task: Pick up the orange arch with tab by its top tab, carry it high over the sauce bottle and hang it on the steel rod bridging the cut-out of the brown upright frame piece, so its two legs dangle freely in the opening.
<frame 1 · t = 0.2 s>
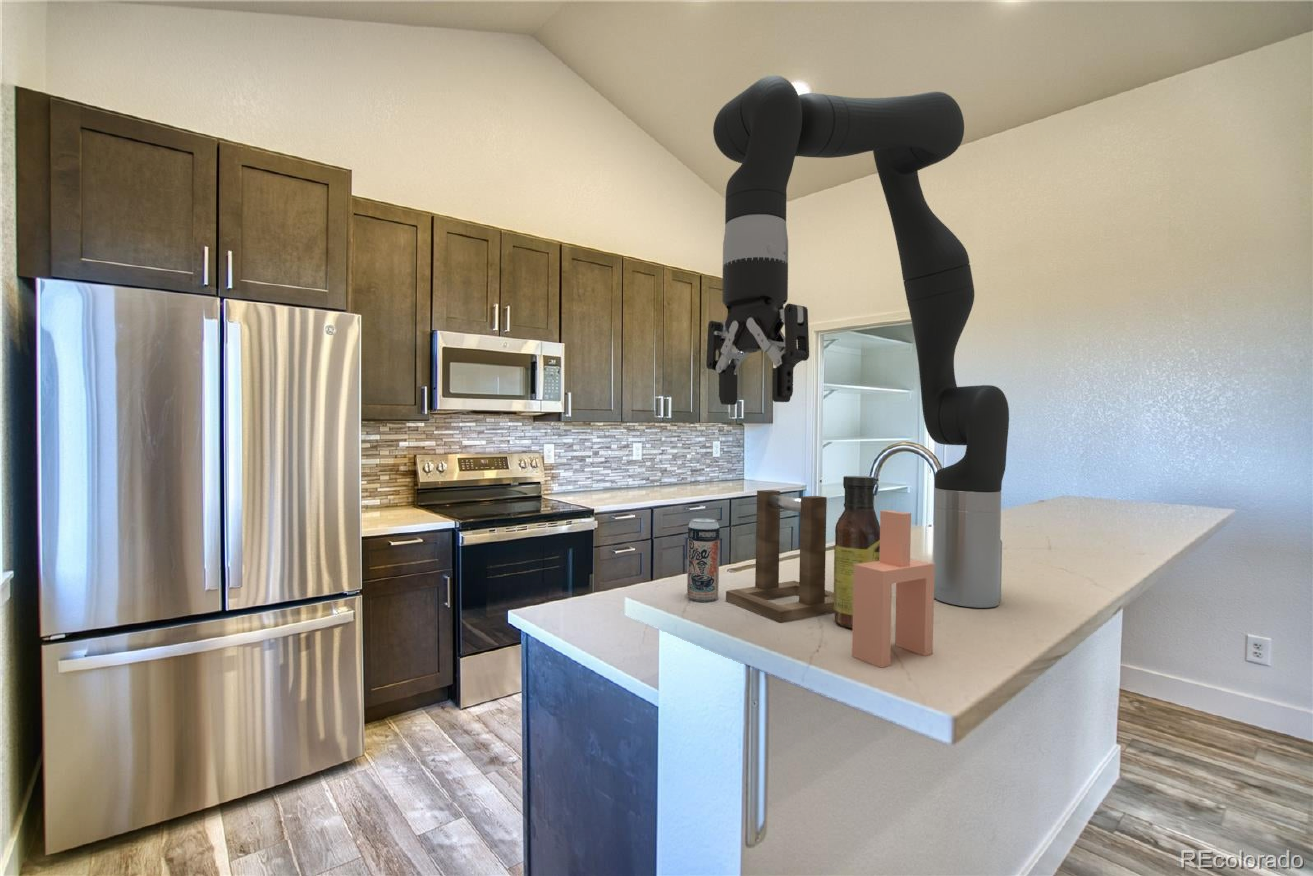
hand: (753, 403, 70), 29 cm above the worktop, tool pointing down, fingers open, 8 cm apart
beer can: (702, 599, 92), on the worktop
sauce bottle: (857, 625, 81), on the worktop
orange arch with tab: (892, 654, 69), on the worktop
brown upright frame piece: (788, 604, 89), on the worktop
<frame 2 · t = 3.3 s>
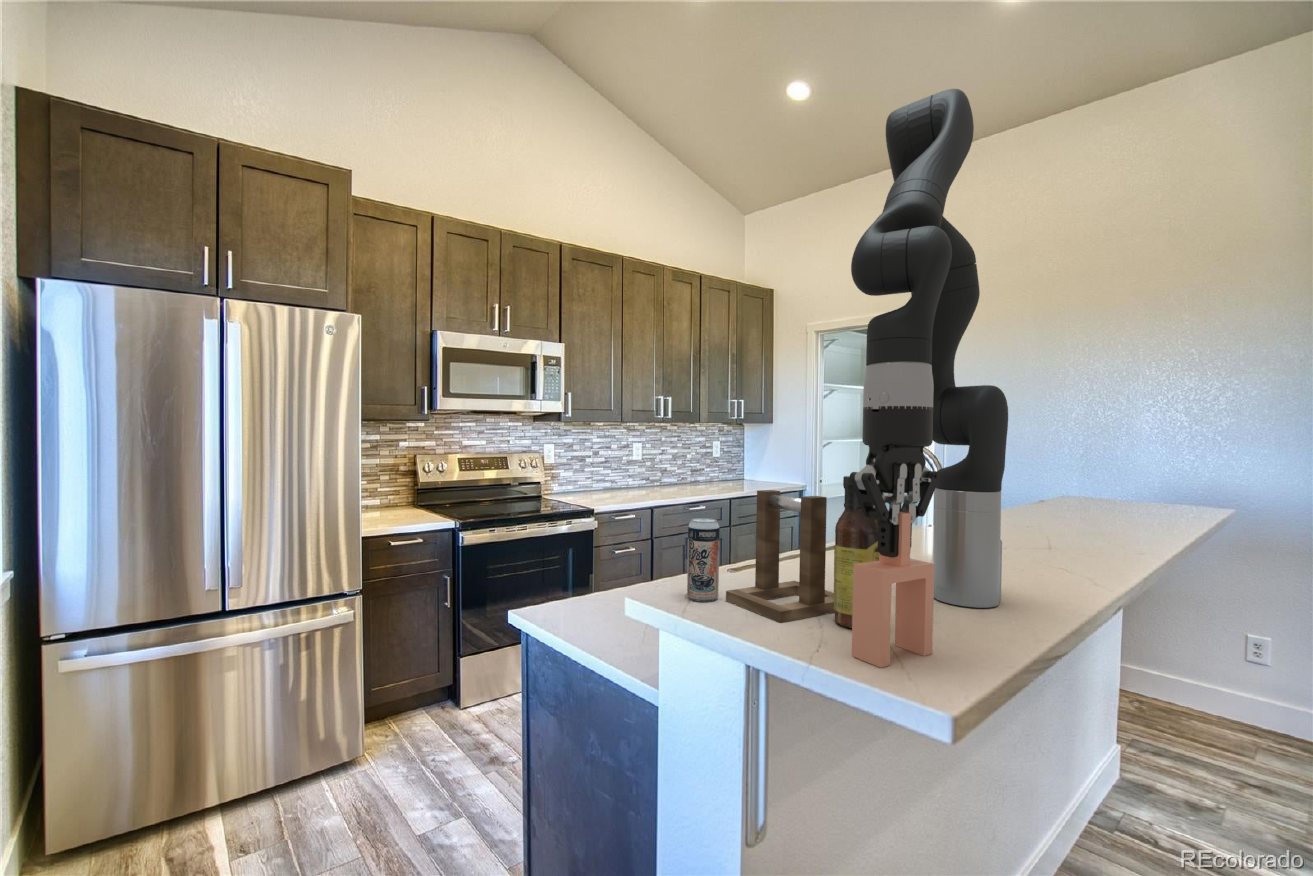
hand: (894, 554, 69), 12 cm above the worktop, tool pointing down, fingers closed on orange arch with tab
orange arch with tab: (892, 654, 69), on the worktop, touching gripper
everything else where it was.
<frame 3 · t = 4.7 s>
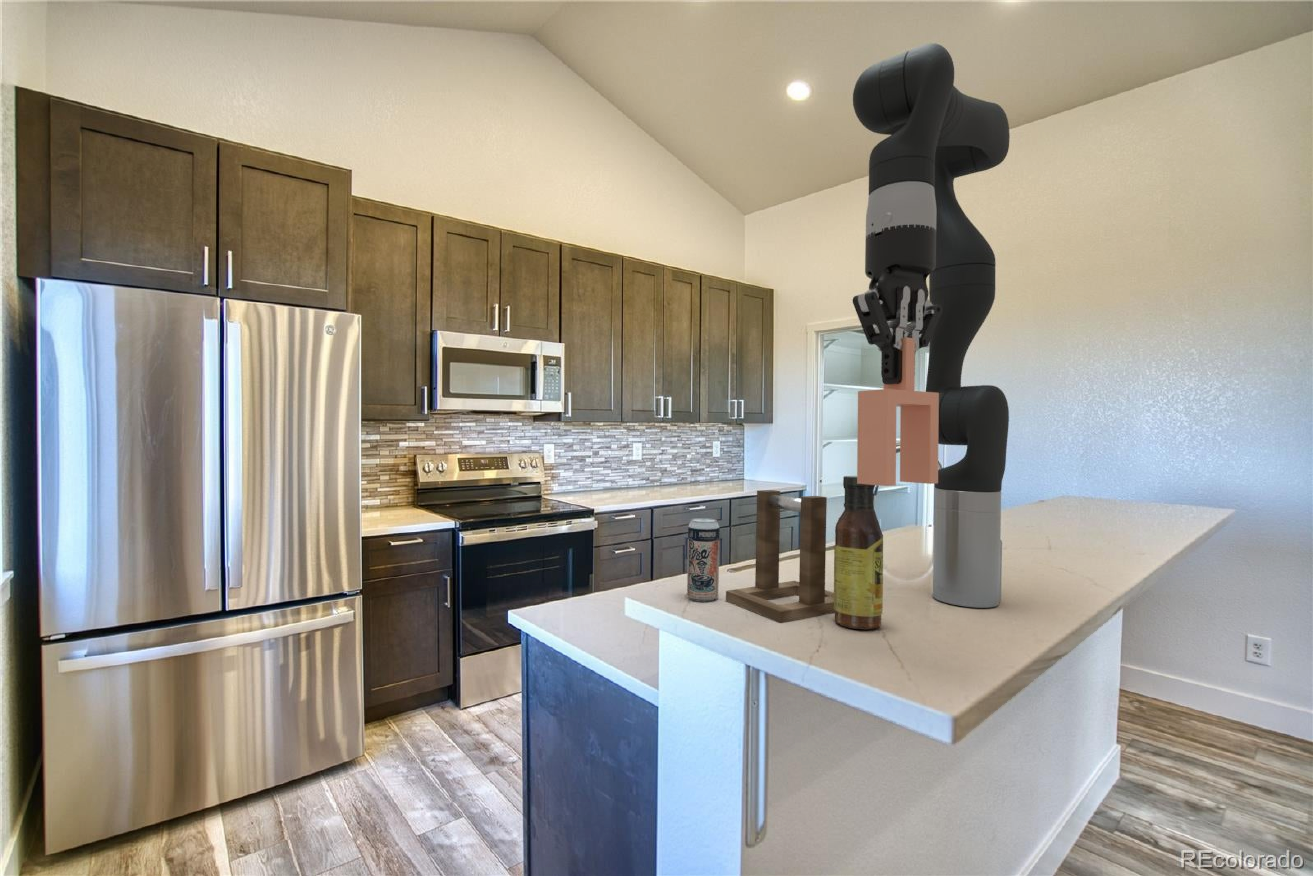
hand: (897, 383, 69), 31 cm above the worktop, tool pointing down, fingers closed on orange arch with tab
orange arch with tab: (897, 483, 69), point 20 cm above the worktop, touching gripper
everything else where it was.
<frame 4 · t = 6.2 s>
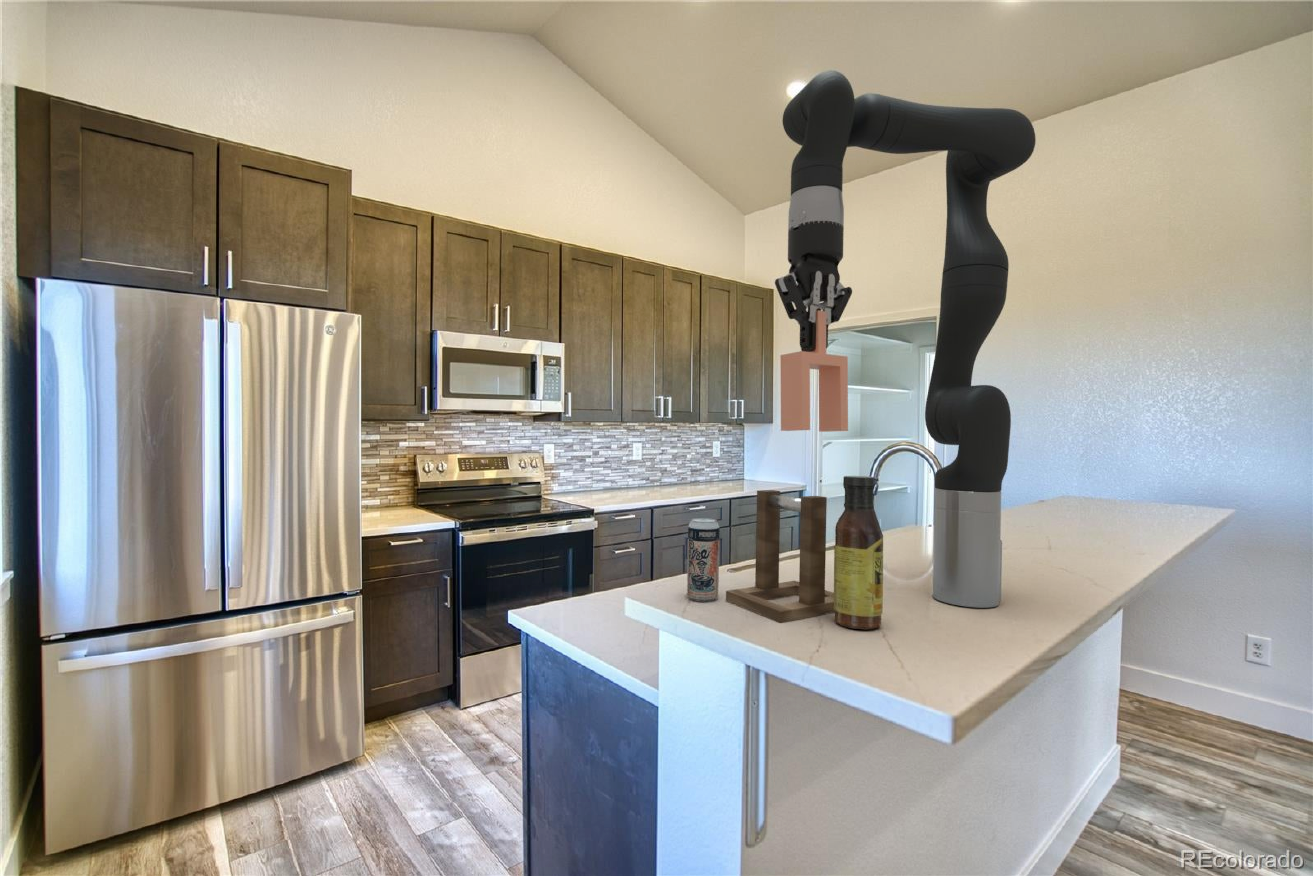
hand: (813, 351, 84), 37 cm above the worktop, tool pointing down, fingers closed on orange arch with tab
orange arch with tab: (814, 430, 84), point 26 cm above the worktop, touching gripper
everything else where it was.
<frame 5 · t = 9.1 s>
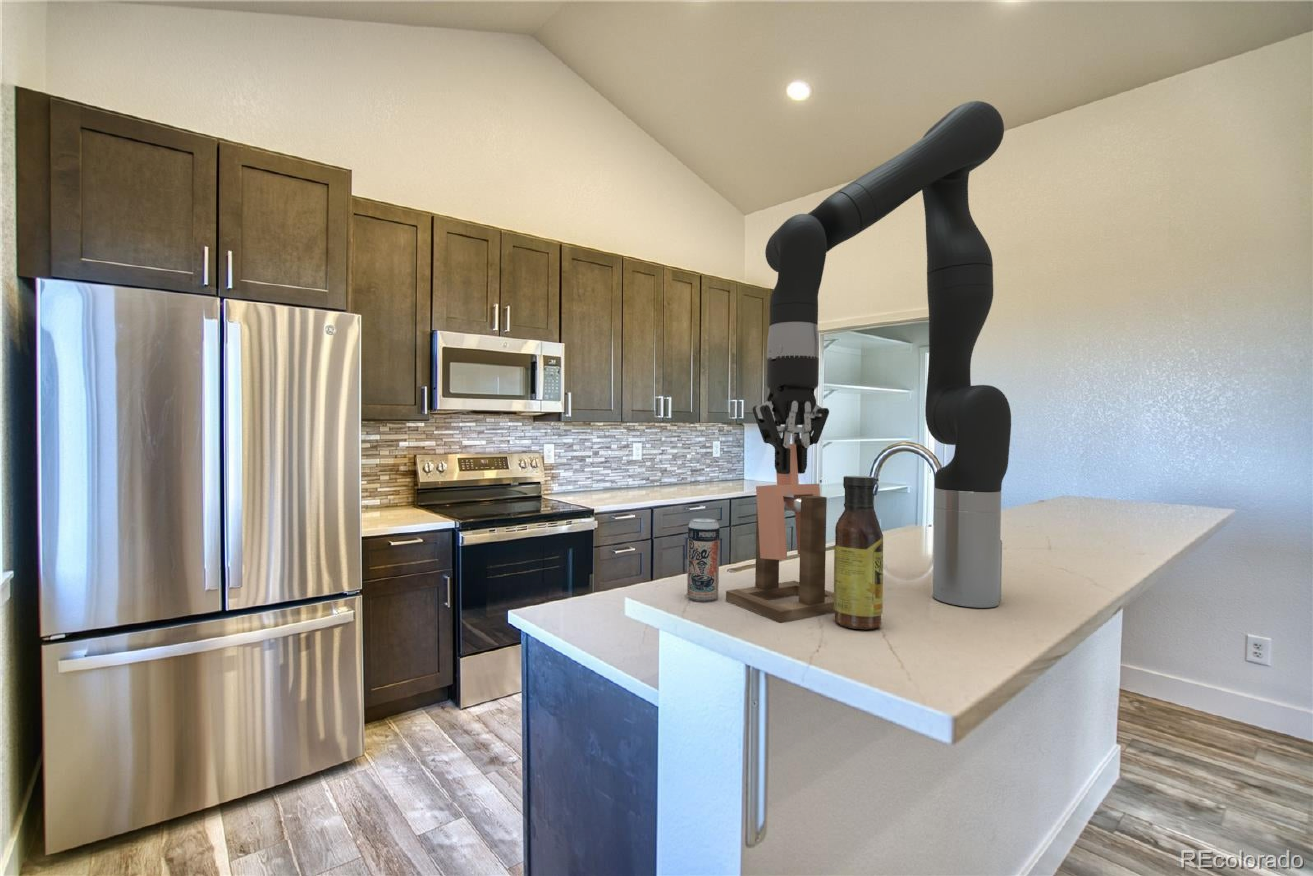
hand: (790, 472, 89), 20 cm above the worktop, tool pointing down, fingers closed
orange arch with tab: (792, 556, 88), point 7 cm above the worktop, tilted 8°, touching brown upright frame piece
everything else where it was.
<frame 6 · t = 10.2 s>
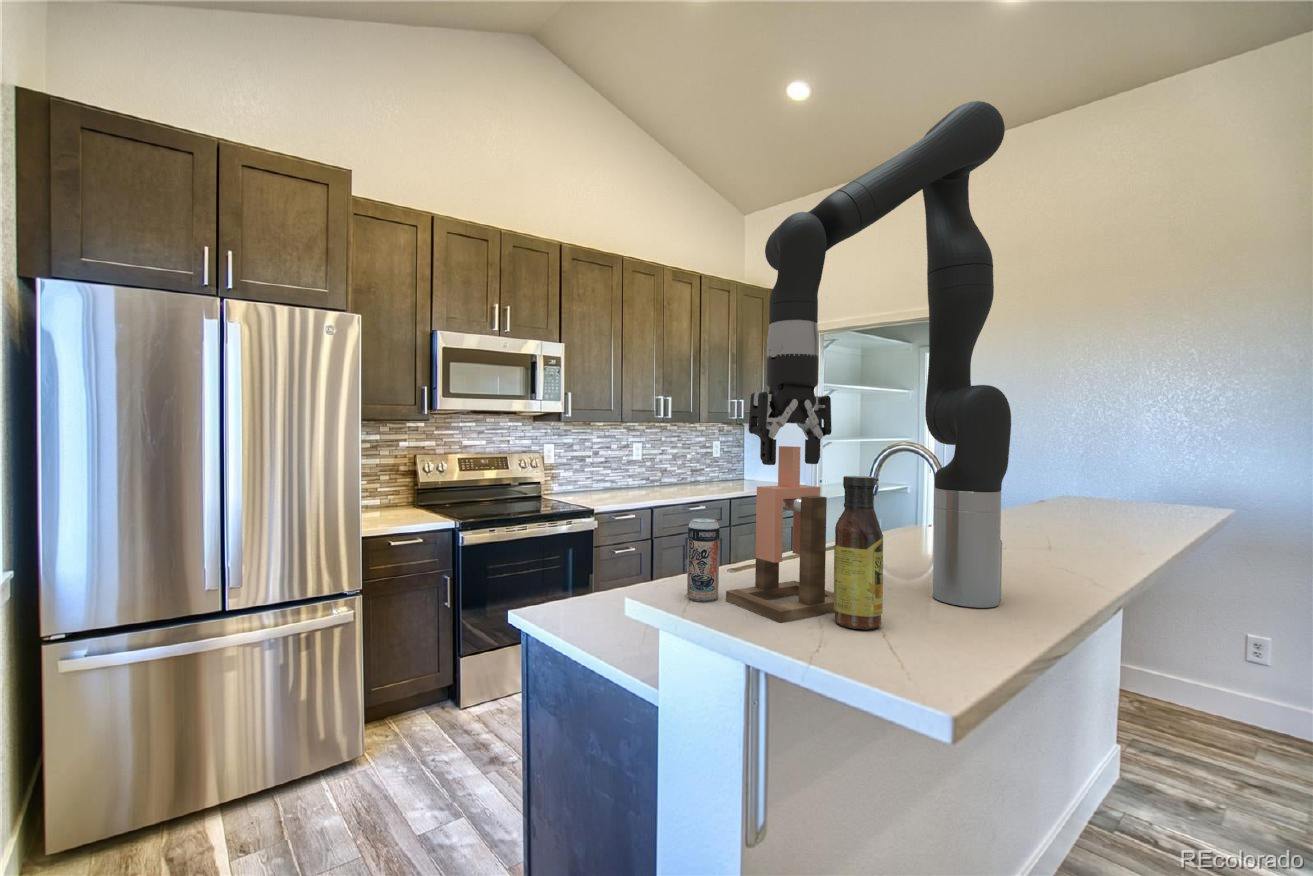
hand: (790, 464, 89), 21 cm above the worktop, tool pointing down, fingers open, 8 cm apart
orange arch with tab: (787, 557, 90), point 7 cm above the worktop, touching brown upright frame piece
everything else where it was.
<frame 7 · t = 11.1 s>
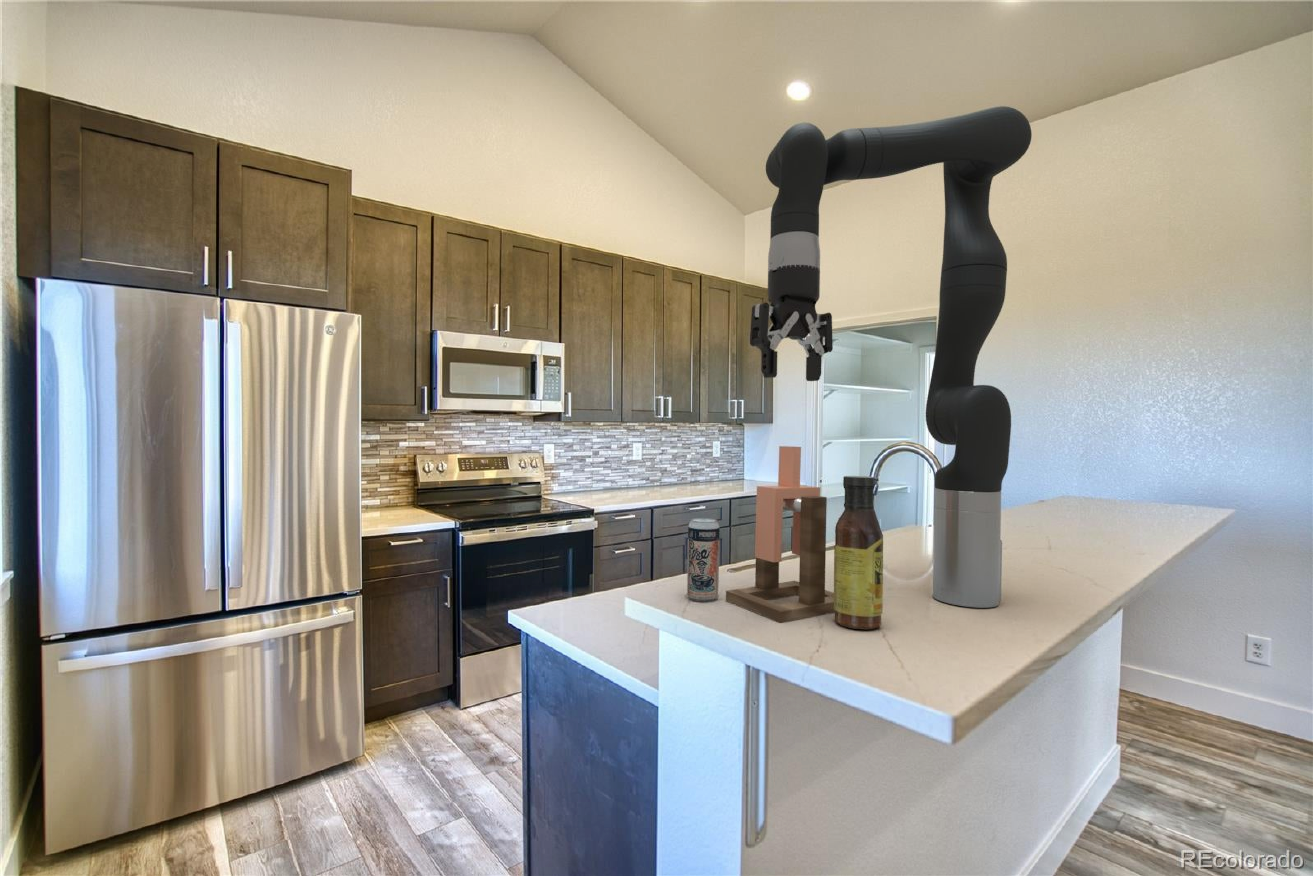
hand: (791, 379, 89), 33 cm above the worktop, tool pointing down, fingers open, 8 cm apart
nothing on the worktop moved.
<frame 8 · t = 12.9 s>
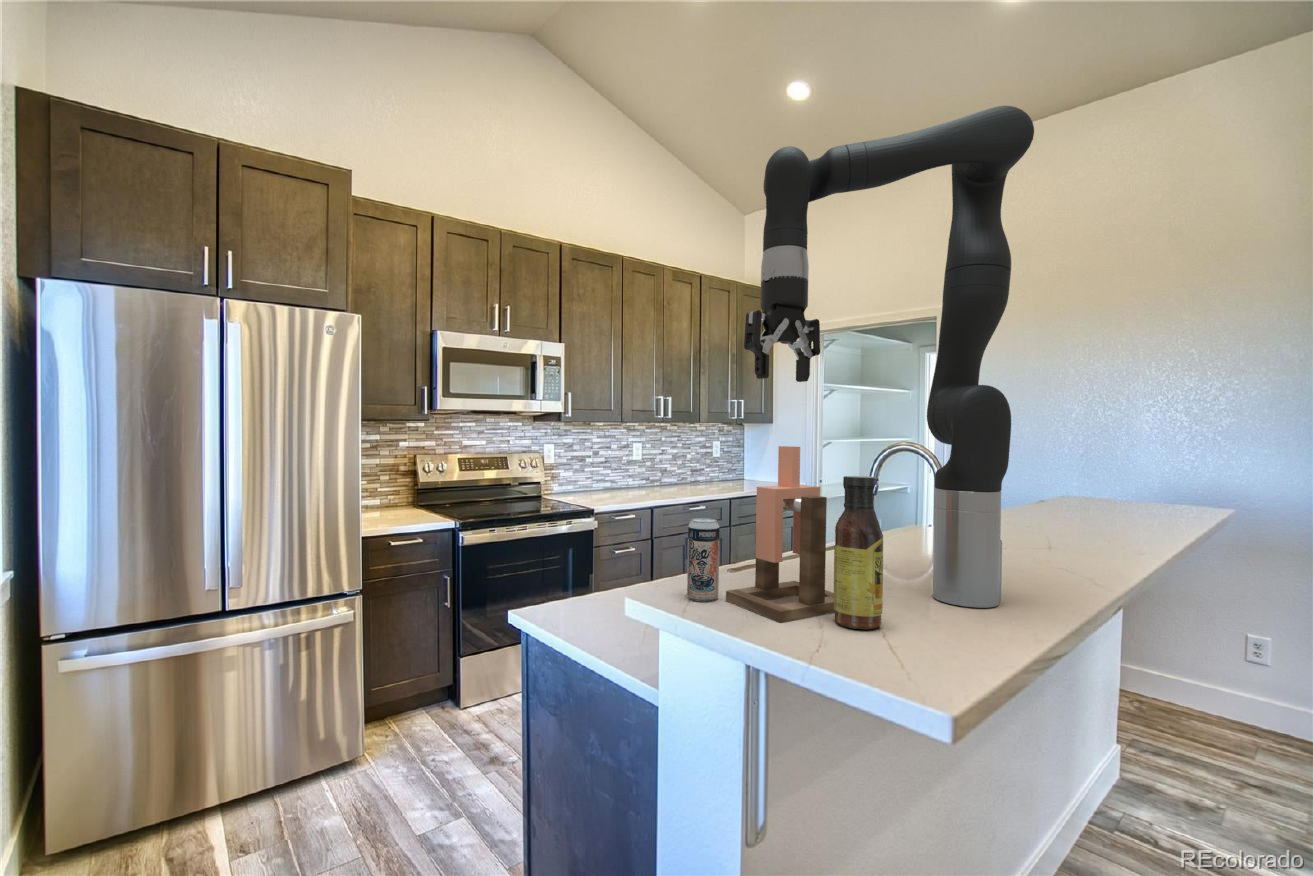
hand: (782, 380, 97), 34 cm above the worktop, tool pointing down, fingers open, 8 cm apart
nothing on the worktop moved.
at the end: orange arch with tab 0.4 cm off-centre on the brown upright frame piece, point 7.0 cm above the brown upright frame piece's base; orange arch with tab touching brown upright frame piece; the gripper is holding nothing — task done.
